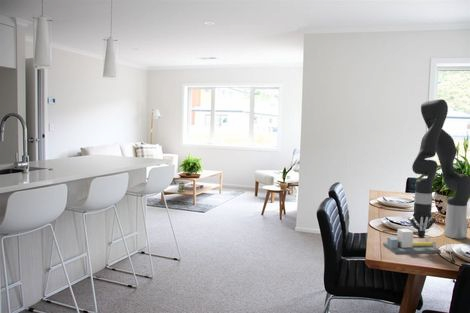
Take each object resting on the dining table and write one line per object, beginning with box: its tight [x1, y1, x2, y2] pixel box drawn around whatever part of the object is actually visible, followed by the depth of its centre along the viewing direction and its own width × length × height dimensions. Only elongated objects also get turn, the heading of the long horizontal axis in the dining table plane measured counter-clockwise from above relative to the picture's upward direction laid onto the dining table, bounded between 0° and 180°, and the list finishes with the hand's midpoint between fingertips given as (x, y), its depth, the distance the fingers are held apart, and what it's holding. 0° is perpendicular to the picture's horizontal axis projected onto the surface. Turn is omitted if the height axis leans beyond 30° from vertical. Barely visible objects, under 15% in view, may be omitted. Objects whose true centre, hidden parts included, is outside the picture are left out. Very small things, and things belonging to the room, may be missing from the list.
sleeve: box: [396, 228, 414, 248], centre depth 192 cm, size 5×5×7 cm
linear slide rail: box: [382, 236, 442, 255], centre depth 193 cm, size 22×12×5 cm, turn 96°
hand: (420, 237), depth 193 cm, fingers closed
